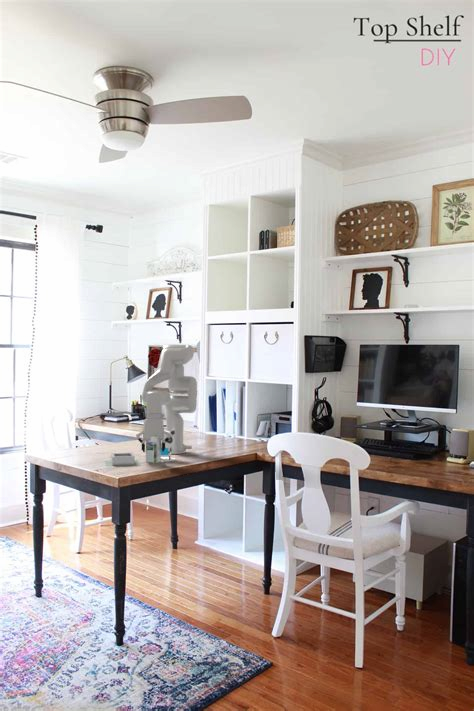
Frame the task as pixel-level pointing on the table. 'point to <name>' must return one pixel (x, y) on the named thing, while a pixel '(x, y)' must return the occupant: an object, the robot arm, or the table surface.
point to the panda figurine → (168, 447)
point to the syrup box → (153, 450)
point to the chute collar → (122, 458)
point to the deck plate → (108, 463)
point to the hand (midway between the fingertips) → (153, 451)
